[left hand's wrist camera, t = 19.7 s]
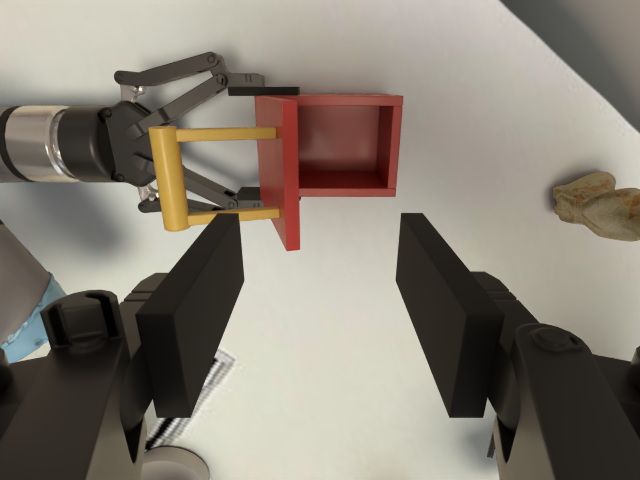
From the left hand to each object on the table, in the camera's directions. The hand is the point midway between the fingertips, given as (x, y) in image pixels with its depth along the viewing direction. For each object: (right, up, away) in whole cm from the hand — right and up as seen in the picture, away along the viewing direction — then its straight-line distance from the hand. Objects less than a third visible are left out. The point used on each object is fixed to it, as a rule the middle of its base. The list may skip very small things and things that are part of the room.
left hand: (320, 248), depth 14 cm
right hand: (-2, +10, +24) cm, 26 cm away
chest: (+1, +12, +31) cm, 33 cm away
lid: (-3, +6, +16) cm, 17 cm away
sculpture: (+32, +6, +33) cm, 46 cm away
